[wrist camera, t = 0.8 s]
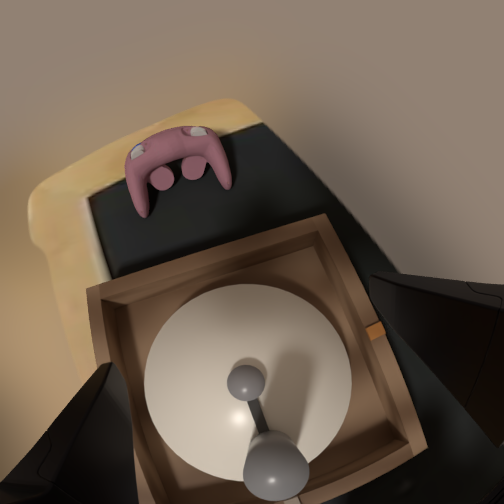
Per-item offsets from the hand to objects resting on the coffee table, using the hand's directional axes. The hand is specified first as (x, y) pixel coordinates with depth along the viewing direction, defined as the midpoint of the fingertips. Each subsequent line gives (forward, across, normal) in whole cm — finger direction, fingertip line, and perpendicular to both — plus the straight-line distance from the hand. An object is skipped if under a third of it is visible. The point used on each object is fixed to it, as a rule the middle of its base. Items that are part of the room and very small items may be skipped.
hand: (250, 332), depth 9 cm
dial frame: (+8, 0, +10) cm, 13 cm away
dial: (+7, 0, +10) cm, 12 cm away
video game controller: (+23, 0, -2) cm, 23 cm away
